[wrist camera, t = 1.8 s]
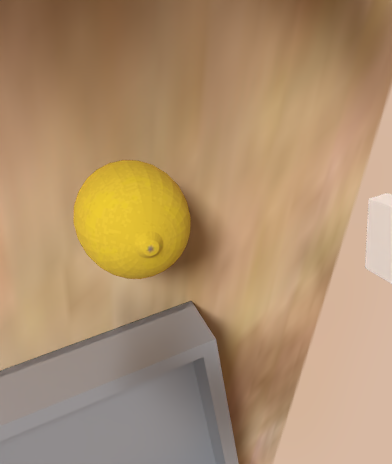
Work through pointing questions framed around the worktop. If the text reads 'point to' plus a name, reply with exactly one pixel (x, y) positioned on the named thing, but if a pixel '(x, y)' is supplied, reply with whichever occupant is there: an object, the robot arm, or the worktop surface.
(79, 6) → the worktop surface
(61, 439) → the box
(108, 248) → the lemon
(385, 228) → the robot arm
